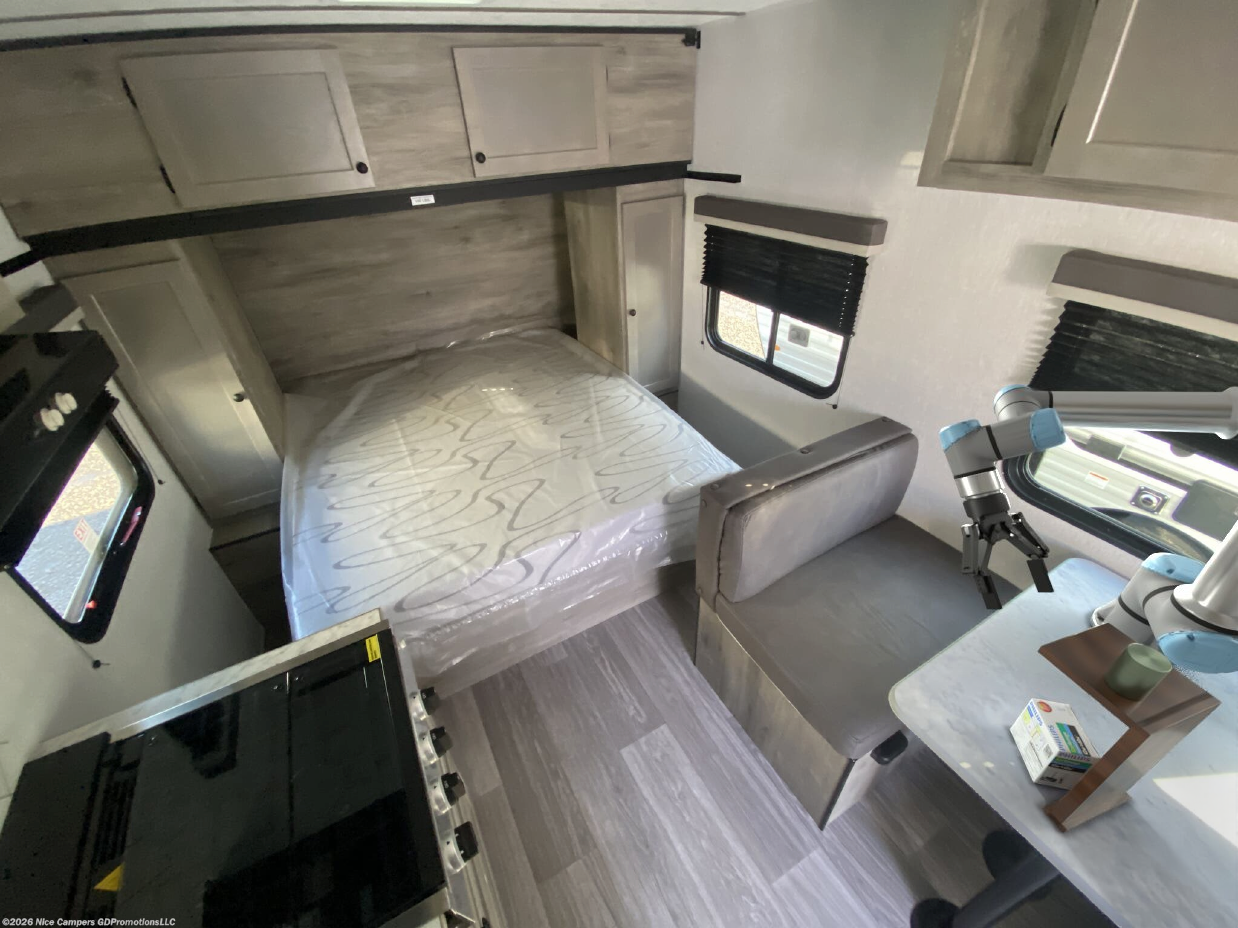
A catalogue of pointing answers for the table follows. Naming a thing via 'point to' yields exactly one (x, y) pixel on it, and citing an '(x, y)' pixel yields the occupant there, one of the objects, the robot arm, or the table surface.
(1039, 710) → the light bulb box
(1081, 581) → the table surface
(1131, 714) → the shelf stand
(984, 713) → the table surface
